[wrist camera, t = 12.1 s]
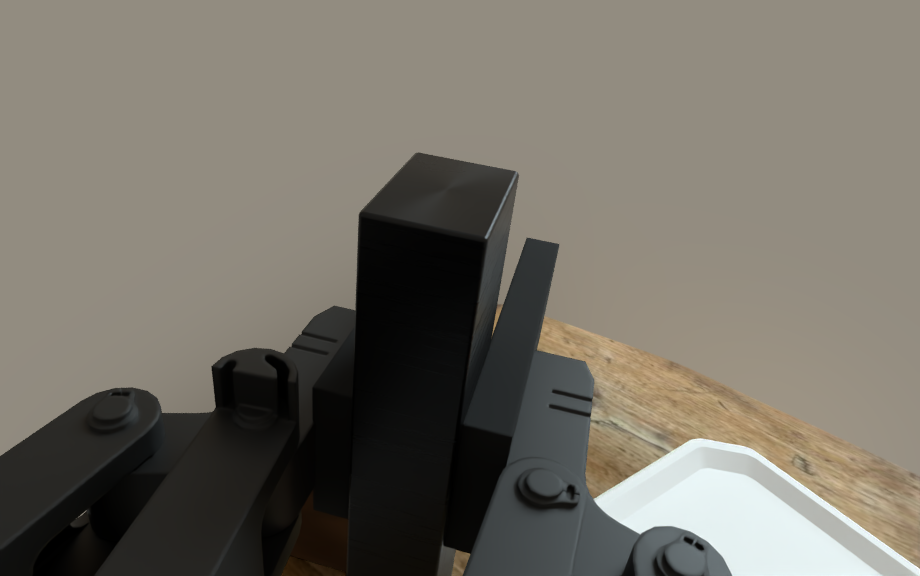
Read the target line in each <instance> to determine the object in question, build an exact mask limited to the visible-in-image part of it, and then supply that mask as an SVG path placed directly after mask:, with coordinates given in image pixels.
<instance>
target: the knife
mask: <svg viewBox="0 0 920 576" xmlns="http://www.w3.org/2000/svg"><path fill="white" fill-rule="evenodd" d="M518 177H519V175H518V173H517V172H516V171H511V170H506V169H500V168H496V167H490V166H485V165H479V164H474V163H470V162H464V161H459V160H454V159H449V158H443V157H438V156H433V155H428V154H423V153H415V154H414V155H413V156H412V157H411V159H410V160H409V161H408V162H407V163H406V164H405V165H404V166H403V167H402V168H401V169H400V170H399V171H398V172H397V173H396V174H395V175H394V177H393V178H392V179H391V180H390V181H389V182H388V183H387V184H386V185H385V186H384V187H383V188H382V189H381V190H380V191H379V192H378V193H377V195H376V196H375V197H374V198H373V199H372V200H371V201H370V202H369V203H368V204H367V205H366V206H365V207H364V208H363V209H362V210H361V212H360V213H359V226H358V253H357V283H356V311H355V339H354V368H353V396H352V425H351V454H350V482H349V511H348V540H347V568H346V576H451V575H452V569H453V563H454V557H455V551H456V549H452V548H449V547H445V546H444V543H445V537H446V530H447V524H448V517H449V511H450V504H451V498H452V491H453V485H454V478H455V472H456V465H457V459H458V452H459V446H460V439H461V433H462V426H463V423H464V420H465V417H466V414H467V411H468V408H469V405H470V402H471V400H472V397H473V394H474V391H475V388H476V385H477V382H478V379H479V377H480V374H481V371H482V368H483V365H484V362H485V359H486V356H487V353H488V351H489V348H490V343H491V337H492V331H493V326H494V320H495V314H496V308H497V301H498V295H499V290H500V284H501V277H502V272H503V266H504V260H505V254H506V248H507V242H508V236H509V230H510V225H511V218H512V213H513V207H514V201H515V195H516V189H517V183H518Z"/></svg>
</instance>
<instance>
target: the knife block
mask: <svg viewBox="0 0 920 576" xmlns="http://www.w3.org/2000/svg"><path fill="white" fill-rule="evenodd" d="M301 514H302V523H301V528H300V533H299V536H298V538H297V540H296V543H295V545H294V547H293V549H292V552H291V554H290V556H294V557H297V558H300V559H304V560H307V561H310V562H314V563H317V564H320V565H324V566H327V567H331V568H334V569H337V570H341V571H344V572H346V568H347V540H348V519H345V518H341V517H337V516H334V515H330V514H327V513H323V512H320V511H316V510H313V490H312V492H311V494H310V495H309V497H308V499H307V501H306V502H305V504H304V506H303V508H302V509H301Z"/></svg>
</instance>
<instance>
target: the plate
mask: <svg viewBox="0 0 920 576" xmlns="http://www.w3.org/2000/svg"><path fill="white" fill-rule="evenodd" d="M593 500H594V501H595V502H596V504H597V505H598V506H599V507H600V508H601V509H602V510H603V511H604V512H605V513H606V514H607V515H609V516H610V517H612V518H613V519H615V520H616V521H618V522H619V523H621V524H623V525H624V526H626V527H628V528H630V529H632V530H633V531H635V532H637V533H639V534H641V533H642V532H645V531H647V530H649V529H651V528H653V527H656V526H674V527H677V528H681V529H684V530H687V531H691V532H692V533H694V534H696V535H697V536H699V537H701V538H702V539H704V540H706V541H707V542H709V543H710V544H711V545H712V546H713V547H714V548H715V549H716V550H717V552H718V553H719V554H720V555H721V556H722V557H723V558H724V560H725V562H726V564H727V566H728V568H729V570H730V572H731V574H732V576H920V569H919V568H918V567H916V566H915V565H913V564H912V563H911V562H909V561H908V560H906V559H905V558H904V557H902V556H901V555H899V554H898V553H897V552H895V551H894V550H893V549H891V548H890V547H888V546H887V545H886V544H884V543H883V542H881V541H880V540H879V539H877V538H876V537H874V536H873V535H872V534H870V533H869V532H867V531H866V530H865V529H863V528H862V527H860V526H859V525H858V524H856V523H855V522H853V521H852V520H851V519H849V518H848V517H846V516H845V515H844V514H842V513H841V512H839V511H838V510H837V509H835V508H834V507H832V506H831V505H830V504H828V503H827V502H825V501H824V500H823V499H821V498H820V497H818V496H817V495H816V494H814V493H813V492H812V491H810V490H809V489H807V488H806V487H805V486H803V485H802V484H800V483H799V482H798V481H796V480H795V479H793V478H792V477H791V476H789V475H788V474H786V473H785V472H784V471H782V470H781V469H779V468H778V467H777V466H775V465H774V464H772V463H771V462H770V461H768V460H767V459H765V458H764V457H763V456H761V455H760V454H758V453H757V452H756V451H754V450H752V449H750V448H748V447H745V446H739V445H734V444H728V443H723V442H717V441H712V440H707V439H691V440H690V441H688V442H686V443H685V444H683V445H682V446H680V447H678V448H677V449H675V450H673V451H672V452H670V453H668V454H667V455H665V456H663V457H662V458H660V459H659V460H657V461H655V462H654V463H652V464H650V465H649V466H647V467H645V468H644V469H642V470H640V471H639V472H637V473H636V474H634V475H632V476H631V477H629V478H627V479H626V480H624V481H622V482H621V483H619V484H617V485H616V486H614V487H613V488H611V489H609V490H608V491H606V492H604V493H603V494H601V495H599V496H598V497H596V498H594V499H593Z"/></svg>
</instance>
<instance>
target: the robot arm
mask: <svg viewBox="0 0 920 576" xmlns="http://www.w3.org/2000/svg"><path fill="white" fill-rule="evenodd" d="M558 248H559V244H555V243H551V242H546V241H541V240H536V239H531V238H527V239H526V242H525V245H524V247H523V250H522V253H521V256H520V259H519V262H518V265H517V268H516V270H515V273H514V276H513V279H512V282H511V285H510V288H509V291H508V293H507V296H506V299H505V302H504V304H503V307H502V310H501V313H500V316H499V319H498V322H497V324H496V327H495V330H494V333H493V336H492V339H491V343H490V348H489V351H488V353H487V356H486V359H485V362H484V365H483V368H482V371H481V374H480V377H479V379H478V382H477V385H476V388H475V391H474V394H473V397H472V400H471V402H470V405H469V408H468V411H467V414H466V417H465V420H464V423H463V426H462V433H461V439H460V446H459V452H458V459H457V465H456V472H455V478H454V485H453V491H452V498H451V504H450V511H449V517H448V524H447V530H446V537H445V543H444V546H445V547H449V548H452V549H456V550H459V551H463V552H466V553H470V554H471V555H470V557H469V560H468V563H467V566H466V568H465V571H464V574H463V576H732V574H731V572H730V570H729V568H728V566H727V564H726V562H725V560H724V558H723V557H722V556H721V555H720V554H719V553H718V552H717V550H716V549H715V548H714V547H713V546H712V545H711V544H710V543H709V542H707V541H706V540H704V539H702V538H701V537H699V536H697V535H696V534H694V533H692V532H691V531H687V530H684V529H681V528H677V527H674V526H656V527H653V528H651V529H649V530H647V531H645V532H642V533H641V534H639V533H637V532H635V531H633V530H632V529H630V528H628V527H626V526H624V525H623V524H621V523H619V522H618V521H616V520H615V519H613V518H612V517H610V516H609V515H607V514H606V513H605V512H604V511H603V510H602V509H601V508H600V507H599V506H598V505H597V504H596V502H595V501H594V500H593V498H592V497H591V495H590V493H589V491H588V488H587V485H586V478H585V471H586V461H587V450H588V440H589V430H590V419H591V418H590V416H591V409H592V399H593V388H594V379H593V377H592V375H591V372H590V370H589V368H588V366H587V364H586V362H585V361H580V360H576V359H572V358H567V357H563V356H559V355H554V354H550V353H546V352H541V351H537V347H538V342H539V338H540V333H541V328H542V324H543V319H544V314H545V310H546V305H547V300H548V295H549V291H550V286H551V281H552V277H553V272H554V267H555V262H556V258H557V253H558ZM354 339H355V310H351V309H346V308H342V307H338V306H333V307H331V308H329V309H327V310H325V311H324V312H322V313H320V314H318V315H316V316H315V317H313V319H312V320H311V321H310V322H309V324H308V325H307V326H306V327H305V328H304V330H303V331H302V334H301V335H299V336H298V337H297V338H296V340H295V341H294V342H293V343H292V347H289V348H288V349H287V351H286V352H285V353H281V352H278V351H275V350H272V349H261V348H252V349H246V350H240V351H236V352H234V353H232V354H229V355H227V356H225V357H222V358H221V359H220V360H219V361H217V362H216V363H215V364H214V365H213V366H212V375H213V384H214V394H215V403H216V408H215V410H214V411H213V412H209V413H162V411H161V406H160V404H159V401H158V399H157V398H156V397H155V396H154V395H152V394H151V393H149V392H148V391H145V390H141V389H136V388H114V389H110V390H106V391H103V392H99V393H96V394H94V395H92V396H90V397H88V398H86V399H84V400H82V401H80V402H79V403H78V404H76V405H75V406H73V407H72V408H71V409H69V410H68V411H66V412H65V413H63V414H61V415H60V416H58V417H57V418H56V419H54V420H53V421H51V422H50V423H48V424H47V425H45V426H44V427H42V428H41V429H39V430H38V431H36V432H35V433H33V434H32V435H31V436H29V437H28V438H26V439H25V440H23V441H22V442H20V443H19V444H17V445H16V446H14V447H13V448H11V449H10V450H9V451H7V452H6V453H4V454H3V455H1V456H0V576H281V574H282V572H283V570H284V567H285V565H286V563H287V561H288V558H289V556H290V554H291V552H292V549H293V547H294V545H295V543H296V540H297V538H298V536H299V533H300V528H301V523H302V514H301V509H302V508H303V506H304V504H305V502H306V501H307V499H308V497H309V495H310V494H311V492H312V490H313V510H316V511H320V512H323V513H327V514H330V515H334V516H337V517H341V518H345V519H348V511H349V482H350V454H351V425H352V396H353V368H354ZM86 510H87V511H86ZM85 511H86V512H85ZM83 512H85V513H84V514H83V515H82V516H80V515H81V514H82V513H83ZM79 516H80V517H79ZM78 517H79V518H78ZM76 518H77V519H76Z"/></svg>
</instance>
